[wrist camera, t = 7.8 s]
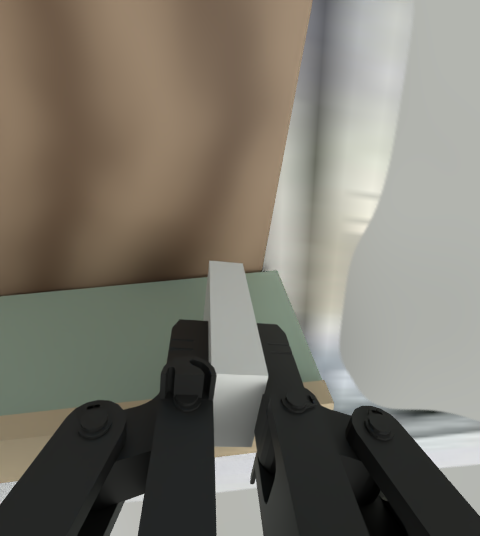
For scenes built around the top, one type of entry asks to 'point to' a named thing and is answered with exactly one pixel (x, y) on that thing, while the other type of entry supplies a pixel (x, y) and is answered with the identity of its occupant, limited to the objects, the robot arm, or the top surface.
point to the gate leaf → (109, 353)
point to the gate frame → (141, 136)
